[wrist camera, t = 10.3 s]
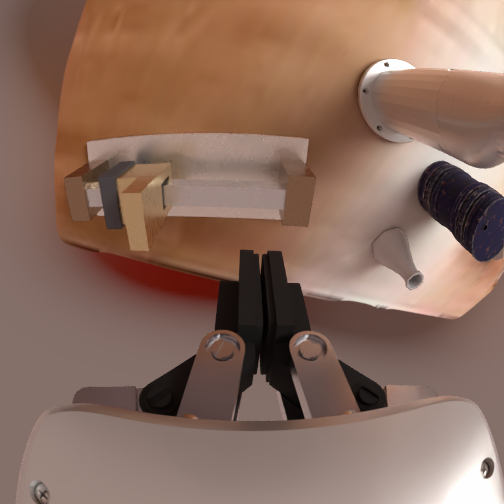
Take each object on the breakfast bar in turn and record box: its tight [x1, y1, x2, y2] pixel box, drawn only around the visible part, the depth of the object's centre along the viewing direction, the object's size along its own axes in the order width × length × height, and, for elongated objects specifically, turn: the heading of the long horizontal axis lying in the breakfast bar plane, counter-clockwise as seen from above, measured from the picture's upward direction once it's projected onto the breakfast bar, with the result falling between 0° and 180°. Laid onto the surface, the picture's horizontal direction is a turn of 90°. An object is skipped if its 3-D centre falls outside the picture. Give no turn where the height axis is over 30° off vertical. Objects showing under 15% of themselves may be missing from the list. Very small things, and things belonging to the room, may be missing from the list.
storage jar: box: [418, 161, 504, 262], centre depth 30 cm, size 10×10×15 cm
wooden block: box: [115, 163, 172, 251], centre depth 28 cm, size 5×6×11 cm
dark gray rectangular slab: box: [98, 161, 135, 229], centre depth 30 cm, size 2×6×6 cm, turn 177°
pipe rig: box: [64, 132, 316, 227], centre depth 32 cm, size 31×12×8 cm, turn 87°
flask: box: [372, 228, 424, 290], centre depth 39 cm, size 7×7×10 cm
